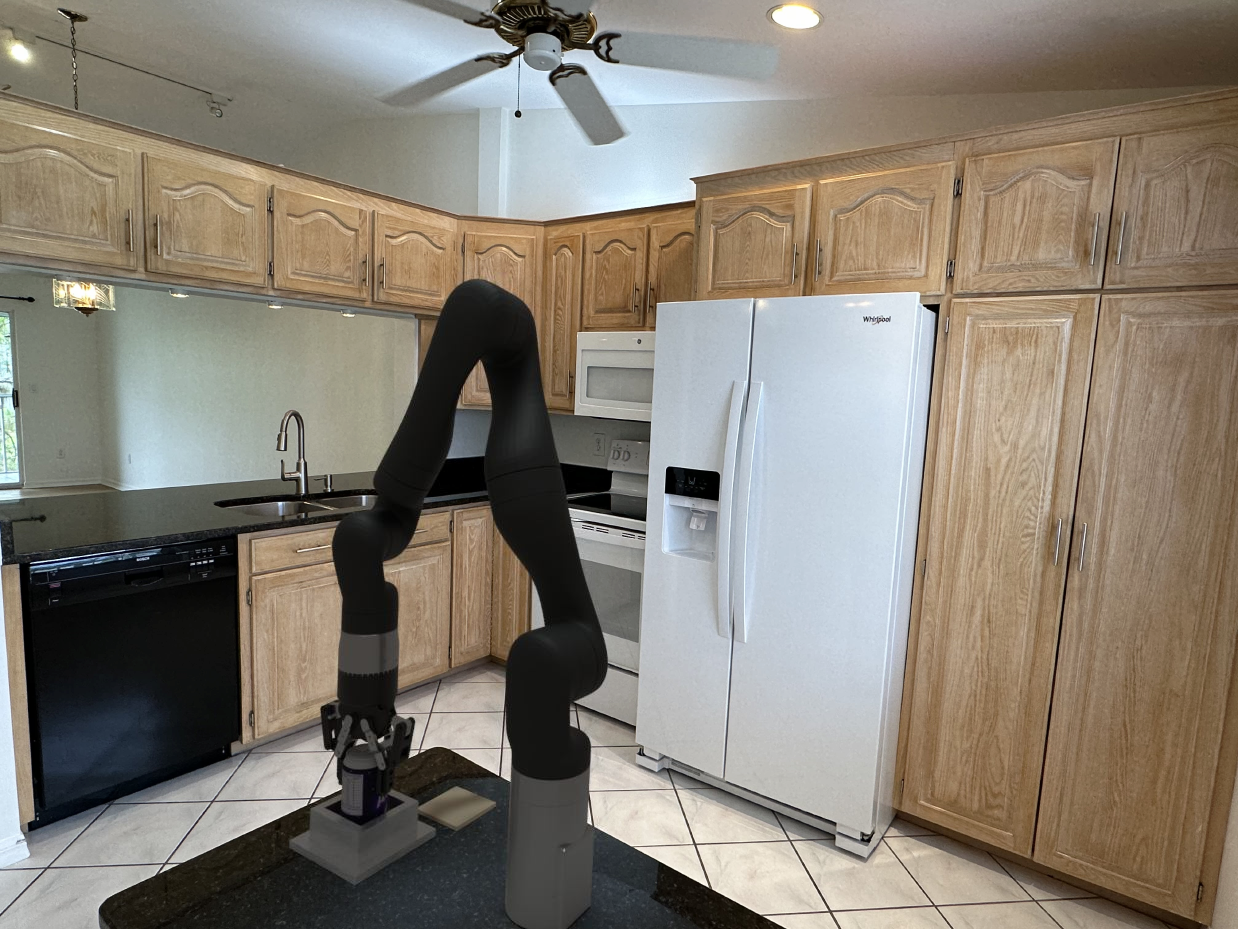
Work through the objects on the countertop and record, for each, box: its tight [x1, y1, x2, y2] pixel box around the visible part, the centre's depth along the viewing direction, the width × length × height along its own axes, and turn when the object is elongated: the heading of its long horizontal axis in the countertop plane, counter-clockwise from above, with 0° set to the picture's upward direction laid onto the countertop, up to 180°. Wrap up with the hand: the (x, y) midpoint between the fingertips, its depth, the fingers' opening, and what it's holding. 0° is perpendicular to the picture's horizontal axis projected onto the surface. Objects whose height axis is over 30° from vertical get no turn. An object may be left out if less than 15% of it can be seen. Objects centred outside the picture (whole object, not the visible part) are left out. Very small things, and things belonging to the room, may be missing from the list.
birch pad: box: [418, 785, 497, 832], centre depth 103 cm, size 8×8×1 cm
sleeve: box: [288, 788, 437, 886], centre depth 94 cm, size 13×13×5 cm
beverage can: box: [341, 742, 387, 826], centre depth 93 cm, size 6×6×12 cm
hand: (364, 787), depth 93 cm, fingers closed on beverage can, 5 cm apart
